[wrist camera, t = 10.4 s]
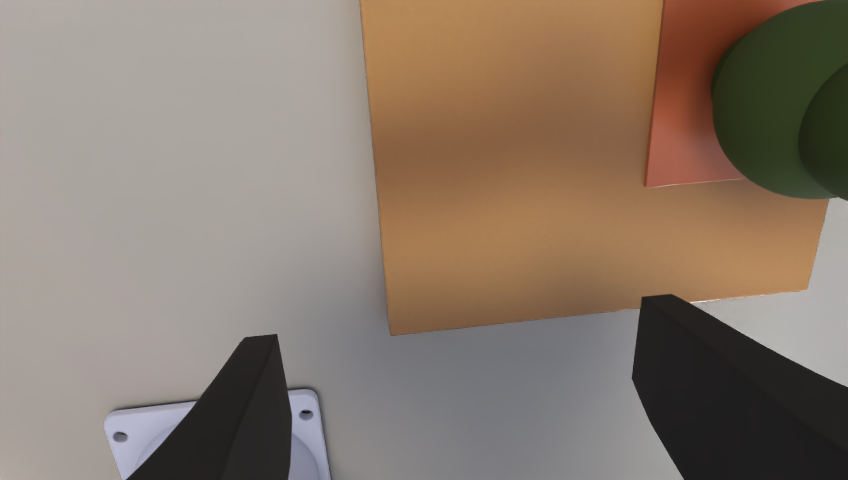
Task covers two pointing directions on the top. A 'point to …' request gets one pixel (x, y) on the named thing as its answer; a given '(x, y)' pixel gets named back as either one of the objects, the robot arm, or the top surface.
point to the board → (565, 161)
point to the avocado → (788, 102)
